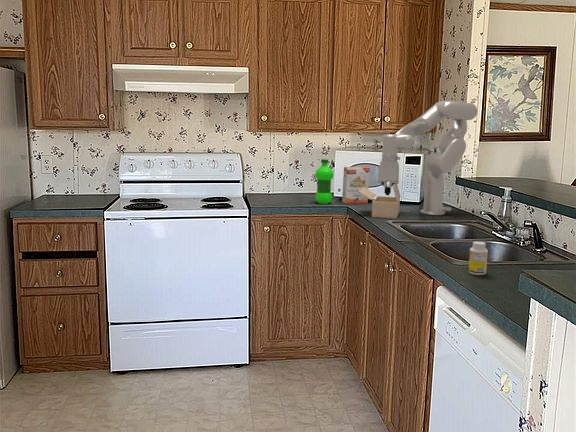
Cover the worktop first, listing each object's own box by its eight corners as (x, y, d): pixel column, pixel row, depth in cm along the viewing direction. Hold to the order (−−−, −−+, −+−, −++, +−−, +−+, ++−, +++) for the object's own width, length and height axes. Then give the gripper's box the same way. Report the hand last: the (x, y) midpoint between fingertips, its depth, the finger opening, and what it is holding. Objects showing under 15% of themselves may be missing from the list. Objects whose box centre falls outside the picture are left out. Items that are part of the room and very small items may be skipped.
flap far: (372, 199, 292) (371, 200, 292) (376, 194, 309) (375, 195, 309) (358, 191, 293) (358, 191, 293) (363, 186, 310) (363, 187, 311)
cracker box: (345, 204, 333) (346, 167, 330) (341, 202, 339) (343, 166, 336) (368, 203, 337) (370, 167, 334) (364, 202, 343) (365, 166, 339)
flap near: (399, 196, 306) (400, 196, 306) (396, 201, 289) (397, 201, 289) (395, 181, 306) (396, 181, 305) (392, 185, 288) (393, 185, 288)
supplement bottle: (474, 270, 195) (476, 240, 194) (489, 273, 191) (491, 243, 189) (464, 272, 192) (467, 242, 190) (479, 276, 188) (482, 245, 186)
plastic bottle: (311, 202, 338) (313, 158, 334) (329, 201, 341) (330, 158, 337) (317, 204, 329) (318, 160, 324) (335, 204, 332) (336, 160, 327)
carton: (399, 212, 309) (400, 197, 308) (395, 219, 289) (396, 202, 288) (376, 210, 312) (377, 196, 311) (371, 217, 292) (372, 201, 291)
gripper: (405, 159, 297) (402, 195, 300) (375, 157, 301) (373, 193, 304) (403, 160, 290) (401, 196, 293) (373, 158, 294) (371, 195, 297)
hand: (387, 194), depth 299 cm, fingers closed
